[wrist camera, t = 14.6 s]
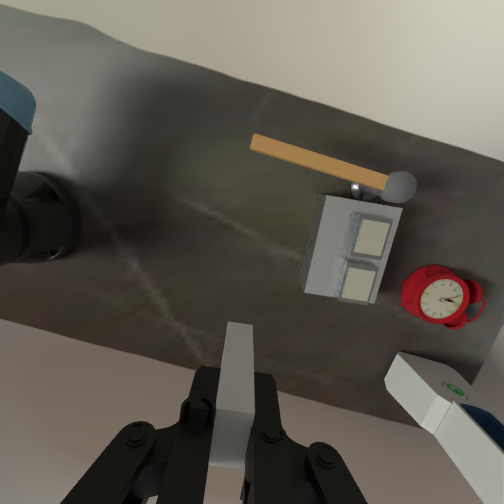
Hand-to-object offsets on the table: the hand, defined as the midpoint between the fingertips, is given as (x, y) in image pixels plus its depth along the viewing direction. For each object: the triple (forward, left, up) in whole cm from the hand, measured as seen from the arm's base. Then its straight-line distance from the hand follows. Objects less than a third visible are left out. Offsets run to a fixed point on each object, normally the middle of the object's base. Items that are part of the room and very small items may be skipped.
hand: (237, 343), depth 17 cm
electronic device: (+38, -21, -32) cm, 54 cm away
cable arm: (+9, +13, -32) cm, 36 cm away
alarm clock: (+37, -4, -33) cm, 49 cm away
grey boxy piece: (+17, +4, -32) cm, 37 cm away
